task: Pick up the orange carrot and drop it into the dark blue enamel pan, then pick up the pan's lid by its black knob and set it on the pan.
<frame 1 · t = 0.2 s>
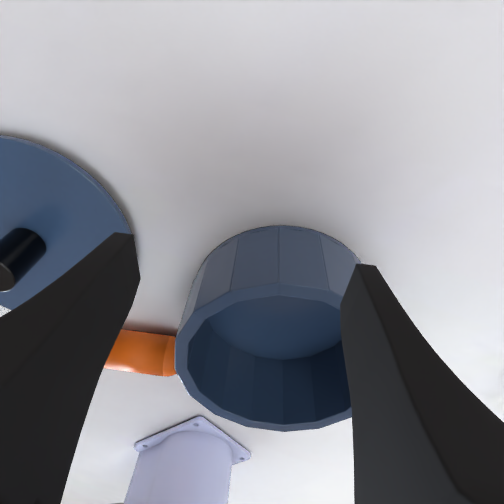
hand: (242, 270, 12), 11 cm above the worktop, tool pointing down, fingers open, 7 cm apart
lid: (32, 239, 24), point 1 cm above the worktop
carrot: (146, 337, 29), on the worktop
pot: (280, 301, 27), on the worktop
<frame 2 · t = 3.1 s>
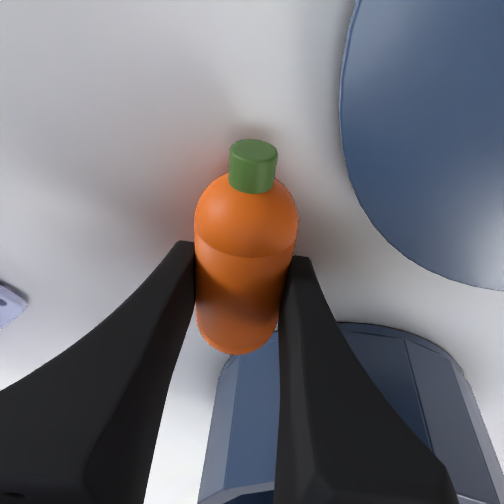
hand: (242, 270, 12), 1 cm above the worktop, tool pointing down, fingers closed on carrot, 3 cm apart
carrot: (245, 243, 13), on the worktop, touching gripper
pot: (335, 394, 20), on the worktop
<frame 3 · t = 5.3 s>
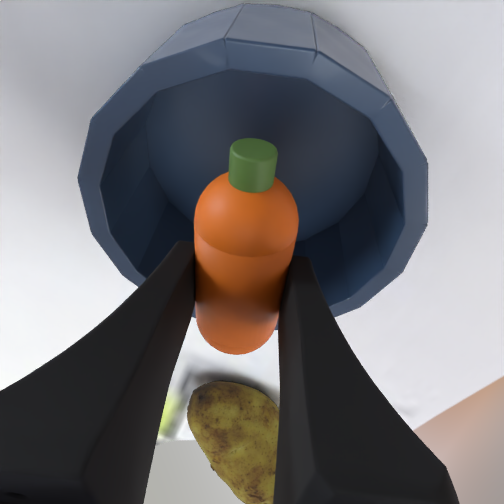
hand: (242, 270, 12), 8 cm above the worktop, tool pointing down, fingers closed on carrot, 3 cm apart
potato: (252, 399, 36), on the worktop
carrot: (245, 242, 13), point 7 cm above the worktop, touching gripper
pot: (260, 154, 18), on the worktop
when the fingers open (2 cm above the worktop, at t = 7.4 s): carrot stays where it is, resting on pot.
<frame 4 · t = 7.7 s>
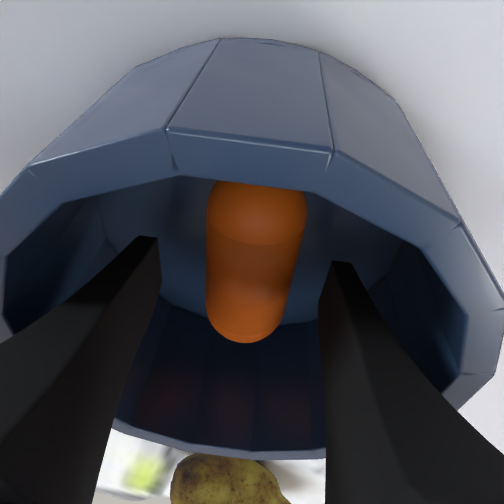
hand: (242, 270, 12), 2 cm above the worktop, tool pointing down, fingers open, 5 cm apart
potato: (247, 465, 32), on the worktop
carrot: (247, 233, 14), point 1 cm above the worktop, tilted 9°, touching pot
pot: (249, 225, 14), on the worktop
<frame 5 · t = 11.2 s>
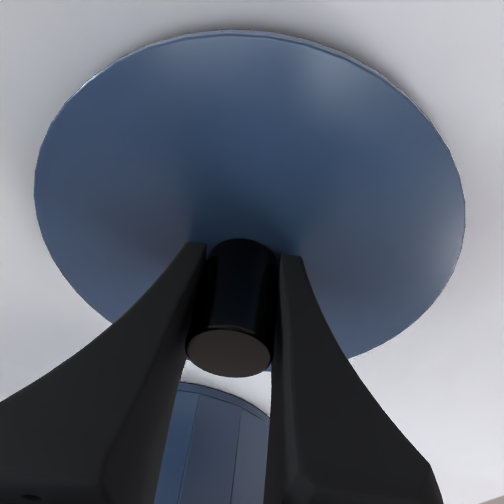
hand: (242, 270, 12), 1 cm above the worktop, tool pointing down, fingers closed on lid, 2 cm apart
lid: (244, 254, 13), point 1 cm above the worktop, touching gripper
pot: (183, 428, 25), on the worktop
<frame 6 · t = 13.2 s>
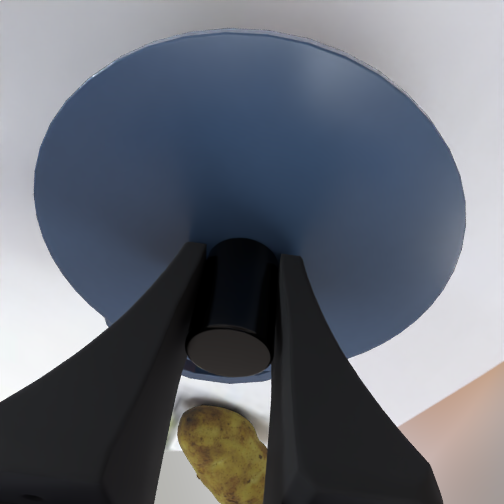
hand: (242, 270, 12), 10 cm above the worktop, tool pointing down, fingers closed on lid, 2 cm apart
lid: (244, 253, 13), point 9 cm above the worktop, touching gripper
potato: (233, 419, 43), on the worktop
pot: (227, 254, 25), on the worktop
when the fingers open (7 cm above the worktop, at t = 15.2 s): lid stays where it is, resting on pot.
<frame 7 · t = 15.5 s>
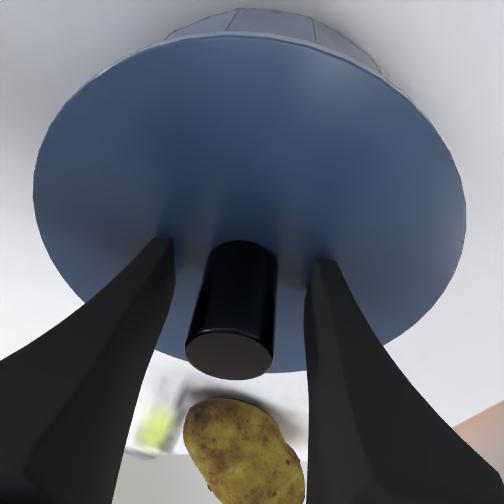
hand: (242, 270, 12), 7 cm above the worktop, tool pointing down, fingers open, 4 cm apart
lid: (244, 256, 13), point 6 cm above the worktop, touching pot
potato: (251, 415, 35), on the worktop
pot: (258, 169, 17), on the worktop
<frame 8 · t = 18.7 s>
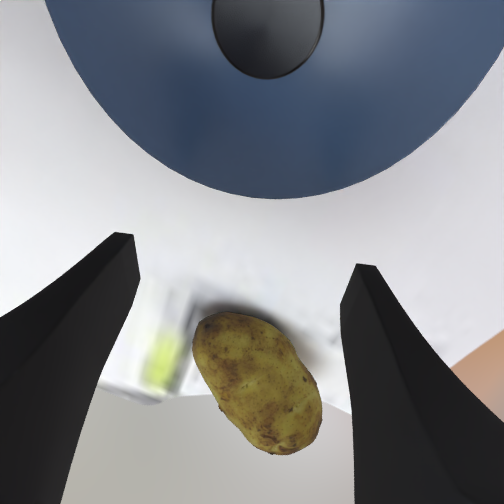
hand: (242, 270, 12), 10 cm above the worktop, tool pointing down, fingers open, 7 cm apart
potato: (264, 340, 33), on the worktop
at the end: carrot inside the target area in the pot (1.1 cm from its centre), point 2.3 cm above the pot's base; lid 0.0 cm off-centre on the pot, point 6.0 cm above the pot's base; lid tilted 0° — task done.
